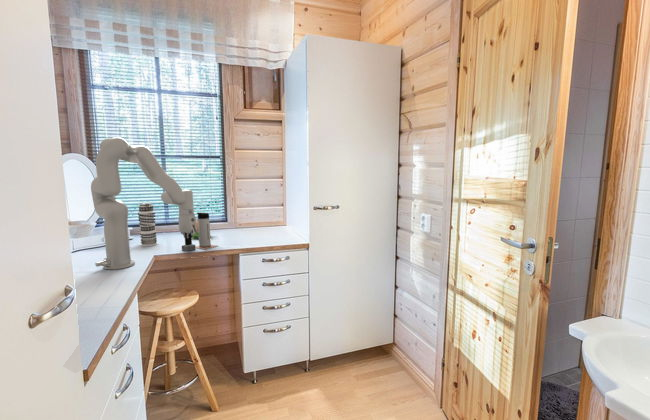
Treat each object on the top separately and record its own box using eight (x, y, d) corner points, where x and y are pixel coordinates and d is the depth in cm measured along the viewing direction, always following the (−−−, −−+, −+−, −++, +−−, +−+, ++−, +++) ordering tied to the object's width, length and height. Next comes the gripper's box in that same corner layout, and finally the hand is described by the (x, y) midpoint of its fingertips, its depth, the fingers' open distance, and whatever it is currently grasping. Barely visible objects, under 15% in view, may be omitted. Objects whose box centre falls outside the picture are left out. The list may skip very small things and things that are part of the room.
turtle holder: (208, 233, 233) (207, 216, 231) (211, 238, 216) (210, 220, 215) (189, 235, 227) (187, 217, 226) (191, 240, 211) (190, 222, 209)
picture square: (204, 249, 187) (204, 249, 187) (192, 247, 192) (192, 247, 192) (218, 246, 196) (218, 245, 196) (206, 244, 201) (206, 243, 201)
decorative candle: (150, 246, 196) (147, 204, 192) (136, 246, 197) (133, 204, 194) (161, 243, 204) (158, 202, 201) (147, 242, 206) (144, 202, 203)
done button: (188, 249, 184) (187, 245, 184) (183, 248, 186) (183, 245, 185) (193, 247, 187) (193, 244, 187) (189, 247, 189) (189, 243, 188)
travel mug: (198, 245, 196) (196, 212, 193) (210, 244, 198) (208, 211, 195) (198, 248, 190) (196, 213, 187) (211, 247, 192) (209, 212, 190)
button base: (188, 252, 183) (187, 246, 183) (182, 250, 186) (181, 245, 185) (195, 250, 187) (195, 244, 187) (189, 248, 190) (189, 243, 189)
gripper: (201, 212, 183) (203, 244, 186) (183, 210, 190) (185, 241, 193) (189, 214, 177) (192, 247, 179) (171, 212, 184) (173, 244, 187)
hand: (188, 244), depth 186 cm, fingers closed
